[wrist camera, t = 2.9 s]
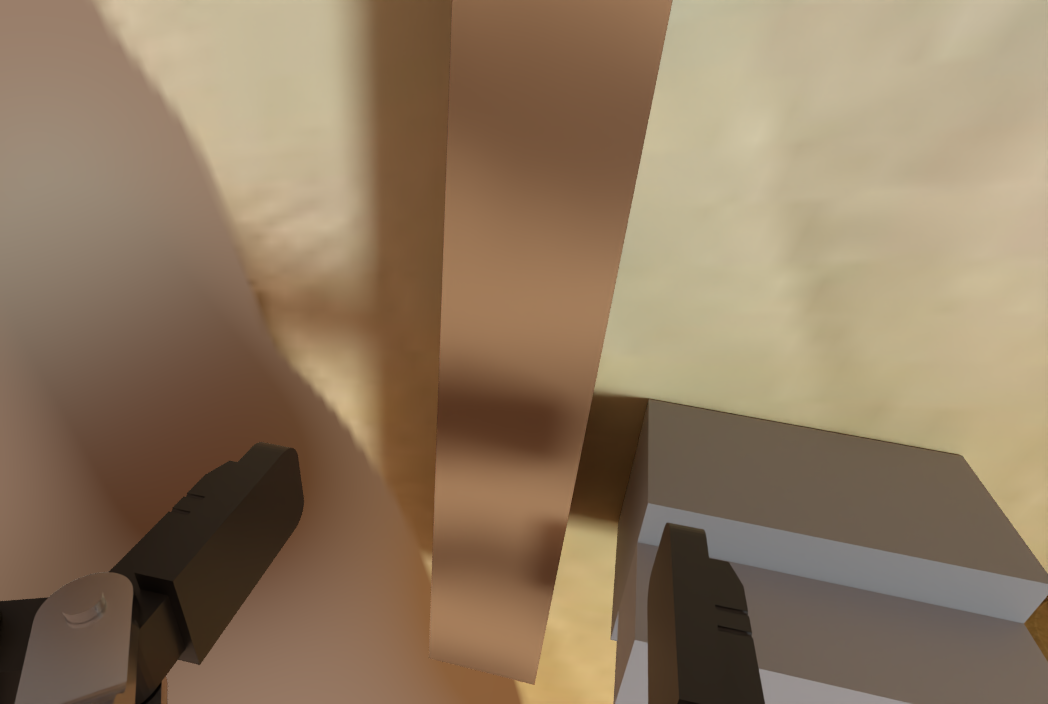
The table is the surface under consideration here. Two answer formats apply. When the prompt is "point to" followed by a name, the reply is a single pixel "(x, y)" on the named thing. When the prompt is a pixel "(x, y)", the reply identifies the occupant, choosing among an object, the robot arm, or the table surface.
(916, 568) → the steps
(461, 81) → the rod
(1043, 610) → the gavel
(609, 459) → the table surface
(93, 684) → the robot arm
